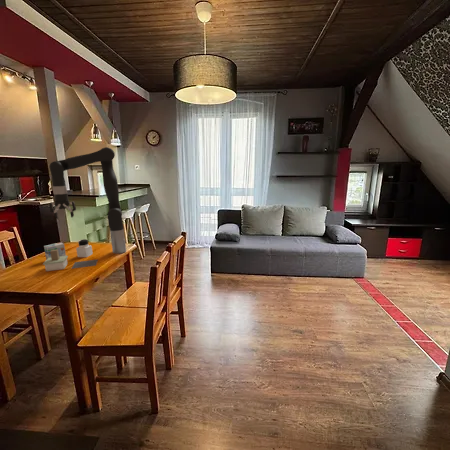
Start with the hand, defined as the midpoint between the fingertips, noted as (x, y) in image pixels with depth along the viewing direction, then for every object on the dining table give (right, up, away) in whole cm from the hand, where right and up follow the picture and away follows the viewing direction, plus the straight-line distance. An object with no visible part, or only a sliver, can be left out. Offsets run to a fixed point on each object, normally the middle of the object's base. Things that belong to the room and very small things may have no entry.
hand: (64, 217), depth 166 cm
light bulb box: (-12, -29, +11) cm, 33 cm away
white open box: (-1, -32, -5) cm, 33 cm away
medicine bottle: (+5, -27, +16) cm, 32 cm away
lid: (-1, -27, -7) cm, 28 cm away
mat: (+14, -31, 0) cm, 34 cm away
